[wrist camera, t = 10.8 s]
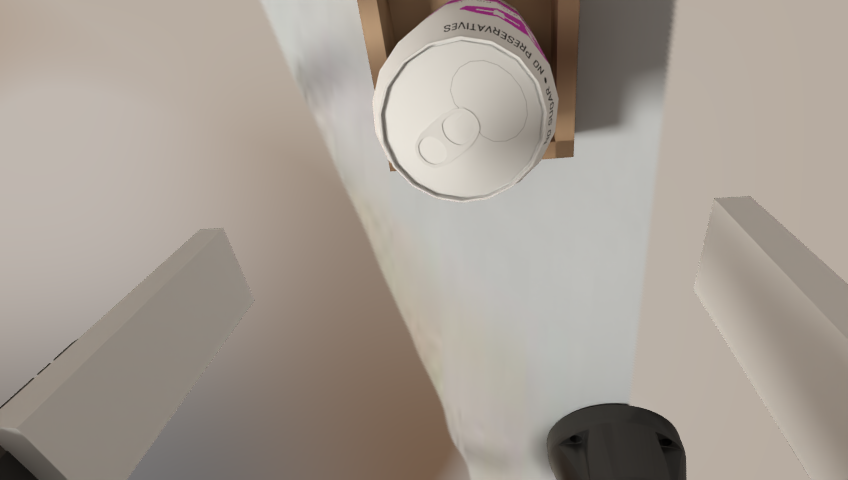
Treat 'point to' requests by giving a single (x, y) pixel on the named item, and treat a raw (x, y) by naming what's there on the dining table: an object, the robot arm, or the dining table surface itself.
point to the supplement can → (466, 101)
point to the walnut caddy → (540, 8)
